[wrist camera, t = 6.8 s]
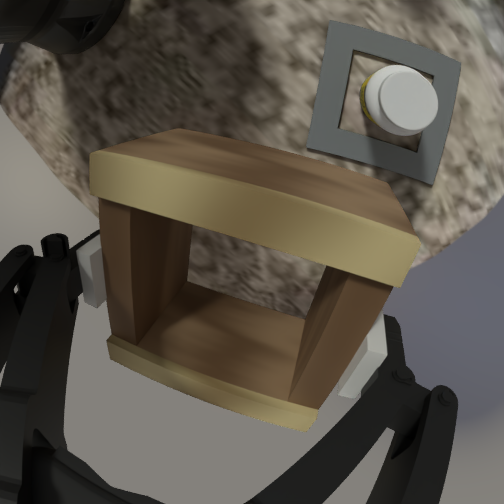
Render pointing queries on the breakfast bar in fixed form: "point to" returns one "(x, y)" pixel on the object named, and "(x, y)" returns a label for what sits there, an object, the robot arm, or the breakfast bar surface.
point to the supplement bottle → (399, 100)
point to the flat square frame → (366, 148)
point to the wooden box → (256, 231)
